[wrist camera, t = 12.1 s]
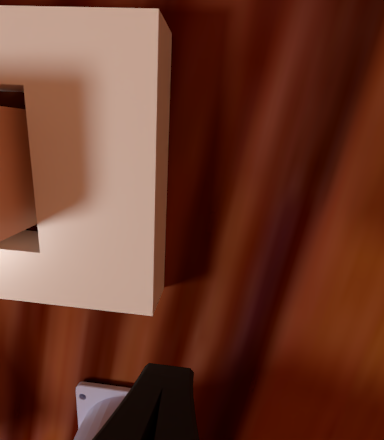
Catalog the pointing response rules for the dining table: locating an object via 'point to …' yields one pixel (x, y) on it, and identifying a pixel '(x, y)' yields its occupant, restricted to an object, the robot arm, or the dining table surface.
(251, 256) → the dining table surface
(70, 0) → the dining table surface
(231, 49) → the dining table surface
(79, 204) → the socket plate
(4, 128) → the plug
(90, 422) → the robot arm
